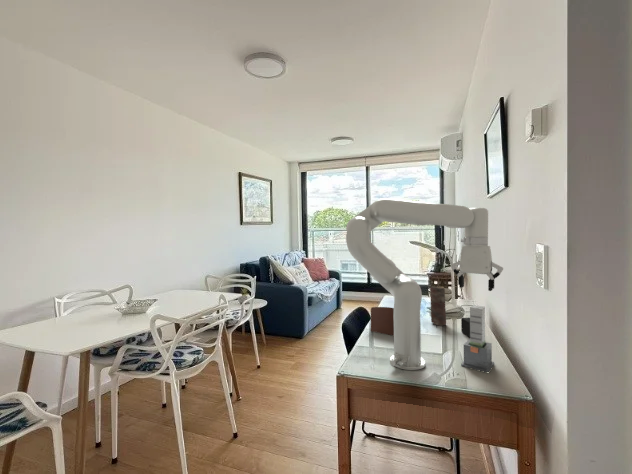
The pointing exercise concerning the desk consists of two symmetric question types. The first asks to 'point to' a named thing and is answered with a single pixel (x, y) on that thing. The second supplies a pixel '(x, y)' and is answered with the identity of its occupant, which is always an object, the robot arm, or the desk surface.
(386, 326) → the letter holder
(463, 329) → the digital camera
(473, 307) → the column
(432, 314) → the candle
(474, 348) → the stand base
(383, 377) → the desk surface
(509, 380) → the desk surface
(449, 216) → the robot arm
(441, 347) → the desk surface
